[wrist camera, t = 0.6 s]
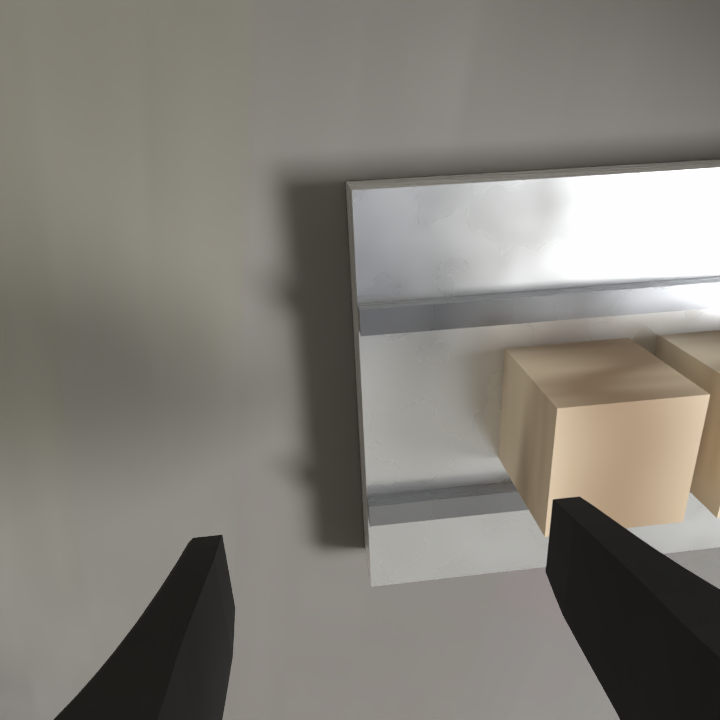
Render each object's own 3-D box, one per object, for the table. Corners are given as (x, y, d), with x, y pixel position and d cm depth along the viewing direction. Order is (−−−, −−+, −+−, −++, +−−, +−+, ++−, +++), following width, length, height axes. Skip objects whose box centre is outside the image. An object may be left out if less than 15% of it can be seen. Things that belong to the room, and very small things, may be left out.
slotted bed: (811, 153, 19) (886, 160, 17) (724, 510, 25) (771, 553, 22) (345, 181, 18) (353, 193, 16) (365, 548, 23) (373, 598, 21)
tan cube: (628, 337, 19) (710, 394, 15) (612, 446, 20) (683, 521, 17) (504, 348, 18) (557, 408, 15) (498, 457, 20) (544, 536, 16)
